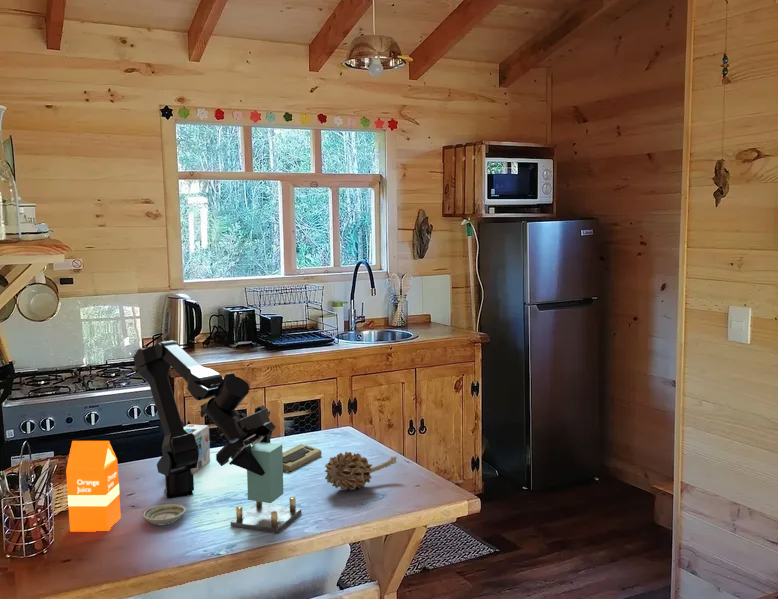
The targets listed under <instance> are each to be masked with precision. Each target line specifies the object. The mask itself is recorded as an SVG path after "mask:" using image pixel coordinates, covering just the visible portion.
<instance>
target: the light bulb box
mask: <svg viewBox="0 0 778 599" xmlns="http://www.w3.org/2000/svg"><path fill="white" fill-rule="evenodd" d="M183 428H184V430H185V431H186V432H187V433H189V434H190V433H193V435H194V436H195V440H196V443H197V446H198V449H199V458H198V463H197V468H193V469H191V472H192V473H193V474H195V473H196V472H197V471H198V470H200V469H201V468H203V467H204V466H206V465H207V464H208V463H210V462H211V448H210V426H209V425H206V424H187V425H185V426H183ZM209 461H210V462H209ZM205 464H206V465H205Z"/></svg>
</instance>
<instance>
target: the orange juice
mask: <svg viewBox="0 0 778 599" xmlns="http://www.w3.org/2000/svg"><path fill="white" fill-rule="evenodd" d="M67 460H68V461H67V465H66V469H65V474H66V485H67V486H66V487H67V488H66V489H67V506H68V518H69V531H70V533H71V532H72V533H73V532H76V533H77V532H86V533H87V532H89V533H90V532H93V533H94V532H96V531H108V532H109V531H110V530H111V529H112V528H113V527H114V526H115V525H116V524H117V523H118V522H119V520H121V518H122V517H121V503H120V501H121V500H120V493H121V492H120V482H119V467H118V464H119V463H118V458H117V456H116V453H115V452H114V450H113V447H112V445H111V442H110V440H72V441H71V446H70V450H69V454H68V459H67ZM115 523H116V524H115ZM114 524H115V525H114ZM113 525H114V526H113ZM112 526H113V527H112ZM111 527H112V528H111Z"/></svg>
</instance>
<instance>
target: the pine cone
mask: <svg viewBox="0 0 778 599" xmlns="http://www.w3.org/2000/svg"><path fill="white" fill-rule="evenodd" d="M397 463H398V462H397V456H391V457H390V459H388V460H386V461H385V462H383V463H380V464H377V465H376V466H373V464H372V463H371V464H370V463H369V461H368V459H367V457H364V456H362V455H361V454H360V453H359V452H357V453H354V454H352V452H350V451H349V452H348V451H345V452H344V454H343V453H342V452H340V453H339V454H337V455H336V456H335V455H334V456H333V457H329V460H328V463H325V465H324V467H325V468H326V469H325V470H324V472H325V473H326V476H325V477H324V478H325V480H327V481H326V483H327V484H328V483H330V484H332V485H331V486H332V487H335V489H338V487H340V490H341V491H346V490H347V489H349V490H351V491H353V490H355V489H357V488H359V489H360V488H362V487H365V486H366V483H370V482H371V479H372V475H371V474H372V473H374V472H377V471H380V470H382V469H384V468H387V467H389V466H391V465H394V464H397Z"/></svg>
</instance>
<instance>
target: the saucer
mask: <svg viewBox="0 0 778 599" xmlns="http://www.w3.org/2000/svg"><path fill="white" fill-rule="evenodd" d="M185 513H187V508H186V506H184V505H182V504H177V503H175V504H174V503H166V504H159V505H158V504H157V505H154V506H151V507H149V508H148V509H146V510H145V511H143V513H142V517H143V519H144V520H146V521H148V522H149V523H152V524H154V523H155V525H156V524H167V525H169V524H168V523H171V524H173V523H175V522H176V521H178V520H179V519H180V518H181V519H182V517H183V516H184V515H185ZM174 521H175V522H174ZM172 522H173V523H172Z"/></svg>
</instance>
